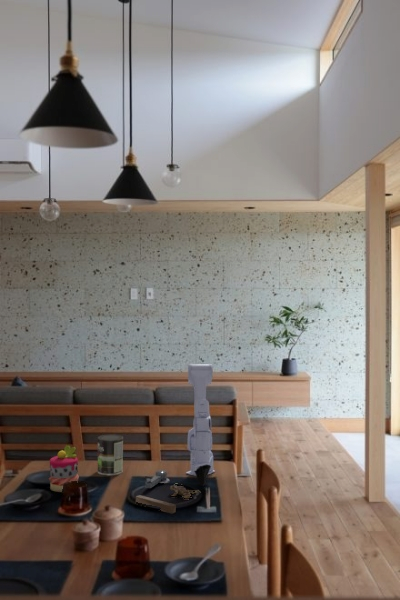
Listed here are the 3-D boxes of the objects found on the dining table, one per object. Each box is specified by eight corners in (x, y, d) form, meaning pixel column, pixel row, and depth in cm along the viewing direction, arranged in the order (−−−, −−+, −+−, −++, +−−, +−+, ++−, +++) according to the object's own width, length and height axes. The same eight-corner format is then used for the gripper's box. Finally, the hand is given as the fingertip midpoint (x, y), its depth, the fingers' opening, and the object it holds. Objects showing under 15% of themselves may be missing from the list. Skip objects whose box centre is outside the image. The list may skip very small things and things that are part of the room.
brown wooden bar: (139, 502, 231) (139, 495, 231) (175, 512, 222) (175, 504, 222) (135, 503, 229) (135, 496, 229) (171, 513, 220) (171, 506, 220)
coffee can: (101, 476, 260) (101, 441, 259) (94, 469, 269) (94, 435, 269) (126, 473, 264) (126, 438, 264) (118, 467, 273) (118, 433, 273)
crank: (158, 476, 258) (158, 466, 258) (168, 478, 256) (168, 467, 256) (142, 487, 245) (142, 476, 244) (153, 489, 243) (153, 478, 243)
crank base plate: (159, 477, 259) (159, 476, 259) (172, 480, 256) (172, 479, 256) (149, 481, 254) (149, 480, 254) (162, 484, 251) (162, 483, 251)
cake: (71, 493, 240) (71, 452, 240) (44, 491, 242) (44, 450, 242) (82, 484, 250) (82, 445, 250) (56, 482, 253) (56, 443, 252)
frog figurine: (163, 500, 234) (164, 489, 234) (173, 490, 246) (173, 479, 246) (195, 503, 232) (195, 492, 232) (203, 492, 243) (203, 482, 243)
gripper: (201, 443, 255) (201, 478, 256) (183, 452, 243) (183, 488, 243) (217, 445, 252) (217, 480, 253) (200, 454, 239) (200, 491, 240)
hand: (201, 484), depth 248 cm, fingers closed
